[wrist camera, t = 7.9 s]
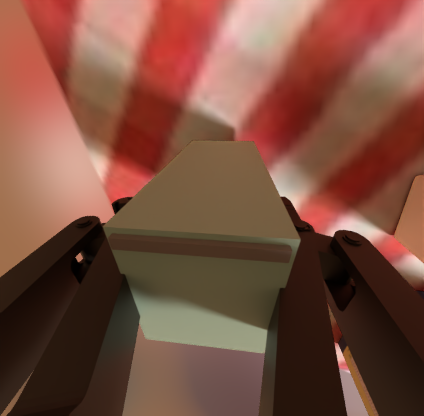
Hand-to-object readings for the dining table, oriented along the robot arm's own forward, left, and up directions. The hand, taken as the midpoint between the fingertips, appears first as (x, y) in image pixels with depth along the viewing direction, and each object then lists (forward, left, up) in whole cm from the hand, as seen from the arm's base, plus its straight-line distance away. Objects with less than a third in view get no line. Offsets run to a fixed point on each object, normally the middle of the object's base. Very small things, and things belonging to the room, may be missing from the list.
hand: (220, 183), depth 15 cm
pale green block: (0, 0, -2) cm, 2 cm away
